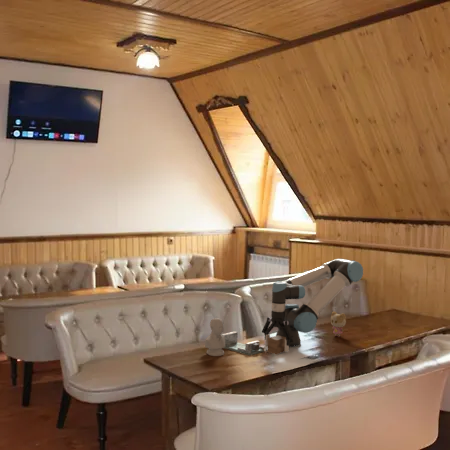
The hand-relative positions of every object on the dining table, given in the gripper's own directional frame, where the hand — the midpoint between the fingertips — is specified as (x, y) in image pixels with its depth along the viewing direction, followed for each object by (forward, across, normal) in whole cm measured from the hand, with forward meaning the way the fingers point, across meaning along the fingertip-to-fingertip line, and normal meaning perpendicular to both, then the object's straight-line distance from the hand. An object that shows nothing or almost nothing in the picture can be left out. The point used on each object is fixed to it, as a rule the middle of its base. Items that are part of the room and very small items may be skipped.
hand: (276, 348), depth 325 cm
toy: (+2, +3, +57) cm, 57 cm away
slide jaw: (0, -7, -11) cm, 13 cm away
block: (+2, 0, 0) cm, 2 cm away
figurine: (+2, -20, -28) cm, 35 cm away
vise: (+2, -17, -11) cm, 20 cm away
